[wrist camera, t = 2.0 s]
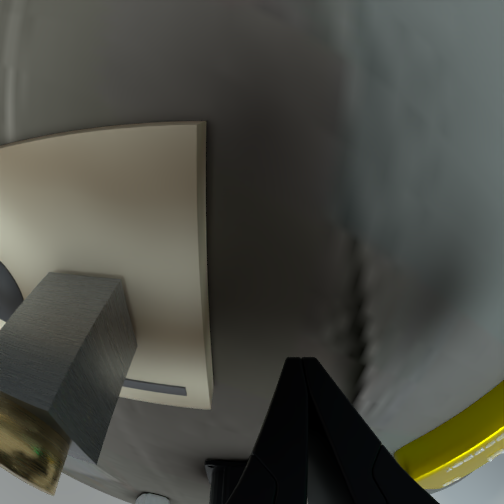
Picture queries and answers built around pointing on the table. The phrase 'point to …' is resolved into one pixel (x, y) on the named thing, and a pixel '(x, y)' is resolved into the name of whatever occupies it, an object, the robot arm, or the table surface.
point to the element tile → (457, 443)
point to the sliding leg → (61, 374)
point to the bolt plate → (119, 239)
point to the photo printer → (151, 499)
